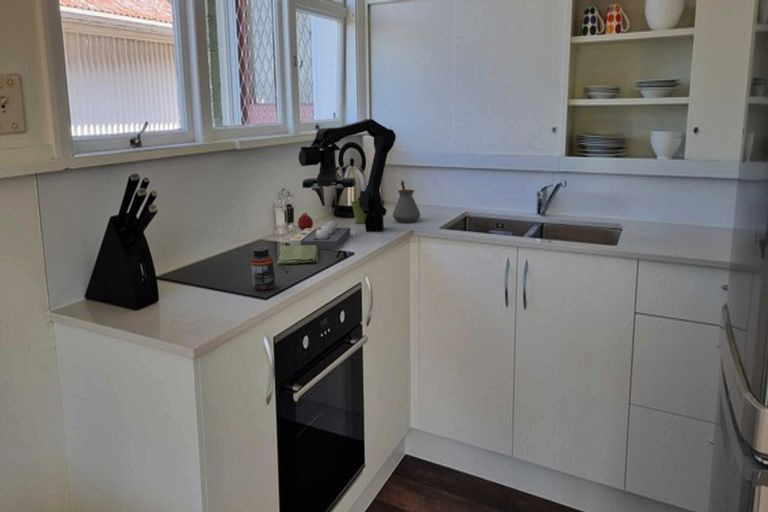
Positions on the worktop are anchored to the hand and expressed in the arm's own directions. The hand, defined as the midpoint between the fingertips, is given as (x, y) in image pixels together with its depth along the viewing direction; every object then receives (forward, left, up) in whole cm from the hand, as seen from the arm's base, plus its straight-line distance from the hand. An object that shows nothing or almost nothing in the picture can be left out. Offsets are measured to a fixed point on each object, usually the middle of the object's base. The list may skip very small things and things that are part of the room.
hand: (330, 206), depth 221 cm
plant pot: (-6, -28, -12) cm, 31 cm away
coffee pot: (-23, -35, -12) cm, 44 cm away
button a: (0, 0, -10) cm, 10 cm away
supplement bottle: (+4, +61, -12) cm, 62 cm away
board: (0, +7, -12) cm, 14 cm away
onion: (+13, -9, -12) cm, 20 cm away
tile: (+9, +7, -12) cm, 17 cm away
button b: (0, +7, -10) cm, 12 cm away
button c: (0, +14, -10) cm, 17 cm away
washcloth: (+4, +29, -13) cm, 32 cm away
